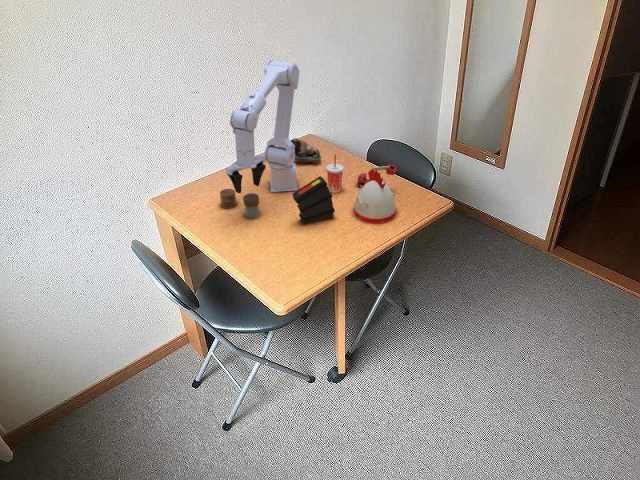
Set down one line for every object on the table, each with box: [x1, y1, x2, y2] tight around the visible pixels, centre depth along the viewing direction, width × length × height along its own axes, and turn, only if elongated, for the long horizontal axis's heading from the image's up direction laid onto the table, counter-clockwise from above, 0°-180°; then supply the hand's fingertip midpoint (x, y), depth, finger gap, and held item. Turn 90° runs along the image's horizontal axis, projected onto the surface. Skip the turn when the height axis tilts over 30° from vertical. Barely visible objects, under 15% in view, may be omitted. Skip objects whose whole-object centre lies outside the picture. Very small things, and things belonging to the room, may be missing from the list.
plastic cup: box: [244, 204, 260, 219], centre depth 162 cm, size 4×4×4 cm
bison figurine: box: [290, 137, 322, 164], centre depth 192 cm, size 12×7×10 cm, turn 94°
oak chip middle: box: [219, 188, 237, 202], centre depth 167 cm, size 5×5×2 cm
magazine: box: [291, 175, 336, 225], centre depth 158 cm, size 4×13×15 cm, turn 110°
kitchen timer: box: [353, 169, 396, 224], centre depth 160 cm, size 14×14×15 cm
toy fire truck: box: [356, 164, 397, 189], centre depth 175 cm, size 3×14×10 cm, turn 68°
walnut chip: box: [242, 192, 260, 207], centre depth 160 cm, size 5×5×2 cm
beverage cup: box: [325, 153, 345, 194], centre depth 173 cm, size 6×6×14 cm
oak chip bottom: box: [220, 198, 237, 209], centre depth 168 cm, size 5×5×2 cm
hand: (247, 188), depth 158 cm, fingers open, 7 cm apart
